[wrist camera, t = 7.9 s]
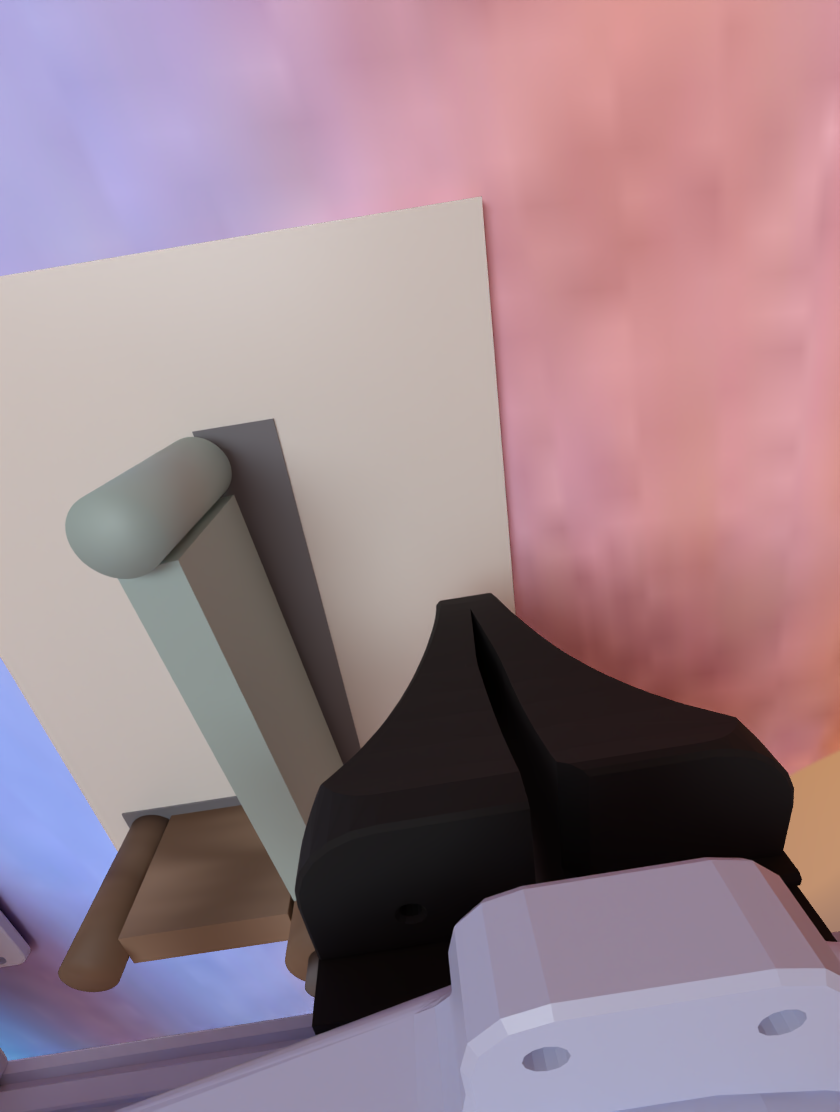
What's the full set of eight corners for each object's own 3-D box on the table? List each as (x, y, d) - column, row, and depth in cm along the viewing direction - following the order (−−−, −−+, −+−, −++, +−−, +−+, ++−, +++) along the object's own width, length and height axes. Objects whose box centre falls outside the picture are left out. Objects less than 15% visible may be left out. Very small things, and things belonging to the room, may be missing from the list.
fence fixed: (145, 854, 19) (56, 1053, 14) (120, 808, 18) (14, 1004, 13) (385, 818, 19) (383, 1004, 14) (372, 770, 18) (366, 952, 13)
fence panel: (353, 774, 17) (343, 906, 13) (306, 785, 17) (284, 918, 13) (216, 429, 12) (139, 481, 8) (152, 445, 12) (46, 504, 9)
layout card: (143, 881, 20) (139, 890, 20) (-194, 310, 11) (-211, 311, 11) (530, 822, 20) (533, 831, 19) (479, 198, 11) (482, 196, 11)
